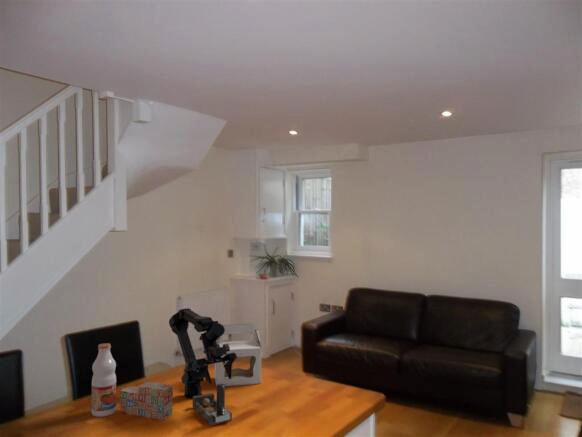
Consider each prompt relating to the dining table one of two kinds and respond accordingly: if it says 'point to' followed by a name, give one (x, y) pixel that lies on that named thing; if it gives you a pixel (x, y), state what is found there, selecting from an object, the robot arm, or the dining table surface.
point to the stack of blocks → (148, 400)
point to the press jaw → (220, 405)
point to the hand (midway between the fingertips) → (220, 381)
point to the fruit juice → (103, 383)
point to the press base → (207, 407)
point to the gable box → (241, 350)
